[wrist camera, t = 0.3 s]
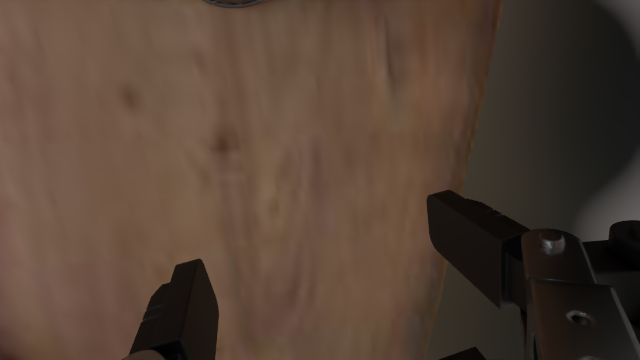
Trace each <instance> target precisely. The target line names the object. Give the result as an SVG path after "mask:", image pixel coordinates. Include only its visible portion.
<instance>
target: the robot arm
mask: <svg viewBox="0 0 640 360" xmlns="http://www.w3.org/2000/svg"><path fill="white" fill-rule="evenodd" d="M202 1H205V2H207V3H209V4H213V5H216V6H220V7H226V8H241V7H247V6H251V5H254V4H257V3H259V2H261V1H263V0H202ZM427 212H428V223H429V234H430V239H431V242H432V244H433V246H434V247H435V249H436V250H437V251H438V252H439V253H440V254H441V255H442V256H443V257H444V258H445V259H446V260H448V261H449V262H450V263H451V264H452V265H453V266H454V267H455V268H456V269H457V270H458V271H459V272H460V273H461V274H463V275H464V276H465V277H466V278H467V279H468V280H469V281H470V282H471V283H472V284H473V285H474V286H475V287H476V288H478V289H479V290H480V291H481V292H482V293H483V294H484V295H485V296H486V297H487V298H488V299H489V300H490V301H491V302H493V303H494V304H495V305H496V306H497V307H498V308H499V309H500V310H502V309H504V308H508V307H510V306H513V305H517V306H518V307H519V308H520V328H521V338H522V347H523V358H524V360H640V221H637V220H629V221H621V222H617V223H615V224H613V225H612V226H611V227H610V231H609V239H608V240H602V241H591V242H581V240H580V239H579V238H577V237H576V236H574V235H572V234H570V233H567V232H564V231H560V230H555V229H534V230H530V229H528V228H526V227H525V226H523V225H521V224H519V223H517V222H516V221H514V220H512V219H510V218H509V217H507V216H505V215H502V214H501V213H500V212H498V211H496V210H493V209H492V208H491V207H489V206H487V205H485V204H484V203H482V202H478V201H474V200H470V199H465V198H463V197H461V196H460V195H458V194H456V193H455V192H453V191H451V190H446V191H442V192H438V193H435V194H431V195H429V196H428V197H427ZM146 310H147V311H146V312H145V314H144V317H143V319H142V320H143V322H141V325H140V327H139V330H138V332H137V335H136V337H135V340H134V343H133V345H132V348H131V350H130V353H129V356H127V357H125V358H123V359H122V360H215V354H216V342H217V330H218V319H219V310H218V304H217V300H216V296H215V294H214V291H213V288H212V285H211V283H210V280H209V277H208V274H207V272H206V269H205V266H204V264H203V262H202V260H201V259H196V260H192V261H189V262H185V263H181V264H178V265H176V266H175V269H174V272H173V275H172V278H171V281H170V283H167V284H163V285H161V286H160V288H159V289H158V290H157V291H156V292H155V293H154V294H153V296H152V297H151V299H150V301H149V304H148V307H147V309H146ZM439 360H486V359H485V358H484V356H483V355H482V354H481V353H480V352H479V350H478V349H477V348H476V347H473V348H470V349H467V350H465V351H462V352H459V353H456V354H453V355H450V356H447V357H445V358H442V359H439Z"/></svg>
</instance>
